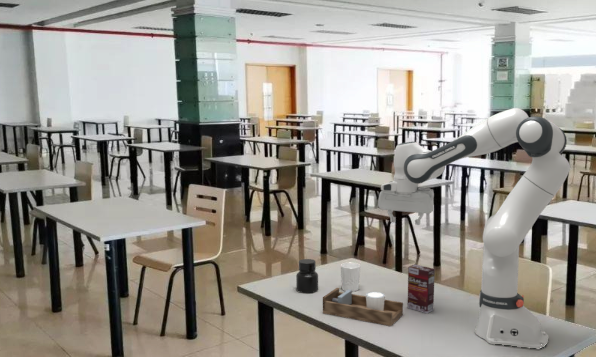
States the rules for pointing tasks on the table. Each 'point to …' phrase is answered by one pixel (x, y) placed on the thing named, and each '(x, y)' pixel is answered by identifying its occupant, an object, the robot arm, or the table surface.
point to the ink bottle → (307, 276)
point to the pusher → (344, 298)
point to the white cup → (350, 276)
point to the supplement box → (421, 288)
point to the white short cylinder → (375, 300)
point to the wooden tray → (362, 309)
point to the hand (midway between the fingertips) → (405, 223)
